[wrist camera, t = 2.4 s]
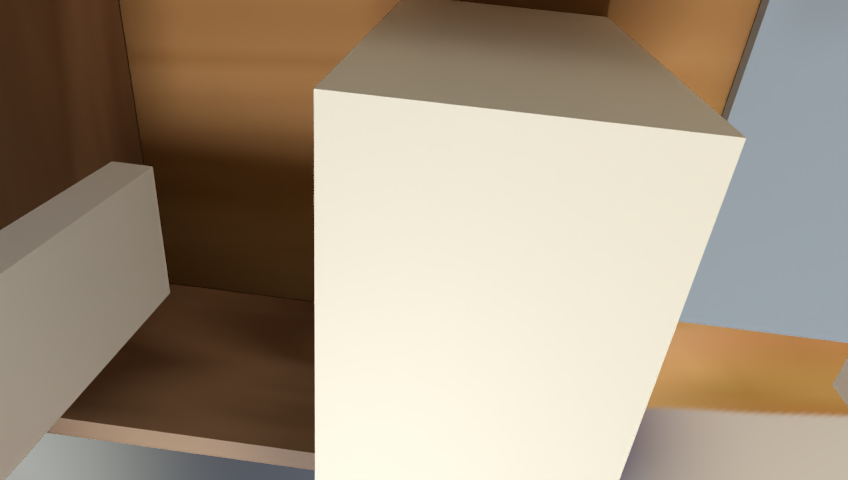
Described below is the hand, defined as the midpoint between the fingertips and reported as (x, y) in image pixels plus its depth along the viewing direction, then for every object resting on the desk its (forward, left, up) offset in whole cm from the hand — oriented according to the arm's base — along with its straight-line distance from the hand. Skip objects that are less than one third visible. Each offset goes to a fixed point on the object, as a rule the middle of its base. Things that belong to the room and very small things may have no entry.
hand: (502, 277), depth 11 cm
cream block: (0, 0, -7) cm, 7 cm away
